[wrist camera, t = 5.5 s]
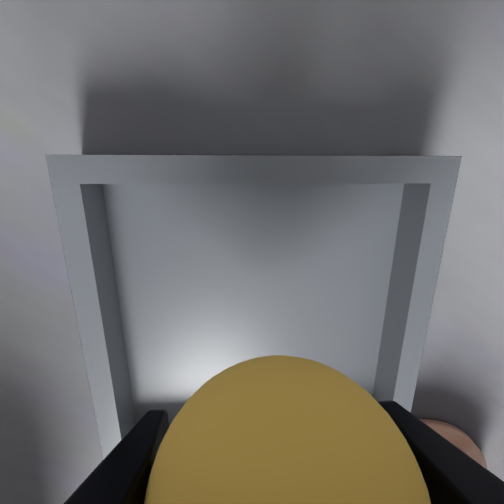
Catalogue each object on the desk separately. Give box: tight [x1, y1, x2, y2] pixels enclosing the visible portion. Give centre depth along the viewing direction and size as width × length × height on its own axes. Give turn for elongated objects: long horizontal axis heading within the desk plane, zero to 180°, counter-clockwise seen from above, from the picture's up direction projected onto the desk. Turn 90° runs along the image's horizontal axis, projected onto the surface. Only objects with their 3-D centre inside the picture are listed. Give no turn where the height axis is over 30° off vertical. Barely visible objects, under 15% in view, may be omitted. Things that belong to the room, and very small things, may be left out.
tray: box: [46, 155, 462, 460], centre depth 12 cm, size 12×12×2 cm
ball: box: [144, 355, 431, 504], centre depth 6 cm, size 5×5×5 cm
